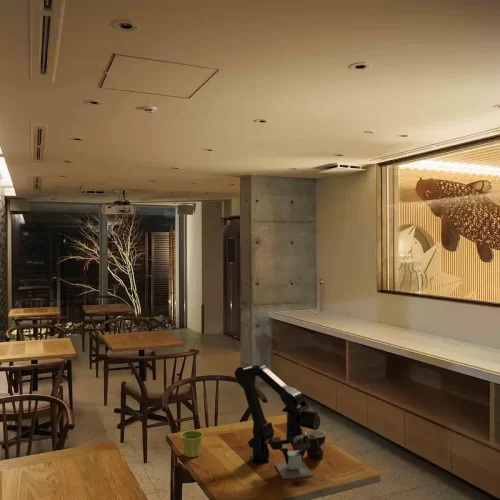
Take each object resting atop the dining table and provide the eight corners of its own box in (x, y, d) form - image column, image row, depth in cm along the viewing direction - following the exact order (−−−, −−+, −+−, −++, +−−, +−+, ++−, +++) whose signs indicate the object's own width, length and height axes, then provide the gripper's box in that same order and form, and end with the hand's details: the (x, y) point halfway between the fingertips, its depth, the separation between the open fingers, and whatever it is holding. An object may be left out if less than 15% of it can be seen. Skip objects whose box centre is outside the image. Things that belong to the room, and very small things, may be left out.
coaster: (282, 478, 196) (282, 476, 196) (274, 465, 208) (274, 463, 208) (312, 476, 199) (312, 474, 199) (303, 463, 210) (303, 461, 210)
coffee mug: (312, 463, 210) (312, 438, 210) (300, 455, 218) (300, 431, 218) (335, 457, 216) (335, 434, 215) (323, 450, 223) (323, 427, 223)
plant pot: (197, 461, 211) (197, 440, 211) (176, 457, 214) (176, 437, 214) (206, 452, 220) (206, 432, 220) (186, 449, 223) (186, 429, 223)
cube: (289, 469, 200) (289, 456, 200) (285, 463, 205) (285, 451, 205) (301, 468, 201) (301, 455, 201) (297, 463, 206) (297, 450, 206)
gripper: (276, 433, 193) (275, 474, 193) (323, 430, 197) (322, 470, 197) (269, 423, 204) (268, 462, 204) (314, 420, 208) (313, 458, 208)
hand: (293, 463), depth 203 cm, fingers closed on cube, 5 cm apart
